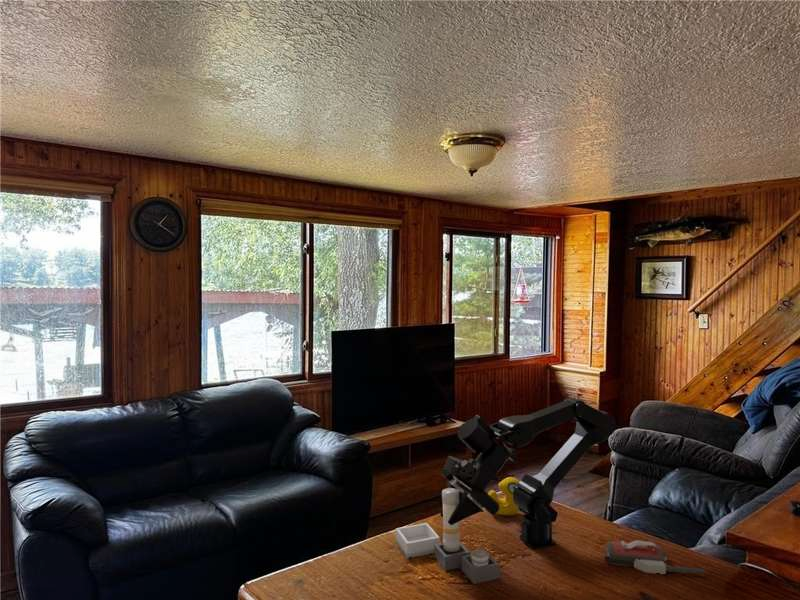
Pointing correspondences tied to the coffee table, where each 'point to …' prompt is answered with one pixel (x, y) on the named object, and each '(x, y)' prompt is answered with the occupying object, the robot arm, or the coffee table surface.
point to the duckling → (506, 496)
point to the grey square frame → (449, 556)
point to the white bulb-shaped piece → (449, 531)
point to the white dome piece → (479, 558)
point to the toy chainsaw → (642, 557)
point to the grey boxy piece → (480, 570)
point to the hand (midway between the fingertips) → (445, 520)
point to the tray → (416, 540)
